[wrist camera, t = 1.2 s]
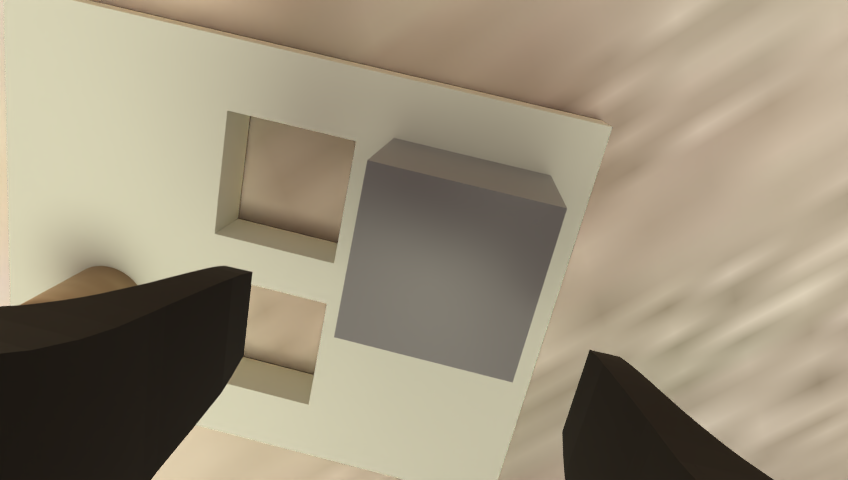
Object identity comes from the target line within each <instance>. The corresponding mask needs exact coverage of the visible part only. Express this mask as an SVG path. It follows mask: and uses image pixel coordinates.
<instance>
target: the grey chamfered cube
mask: <svg viewBox="0 0 848 480" xmlns="http://www.w3.org/2000/svg"><path fill="white" fill-rule="evenodd" d="M566 211H567V207H566V205H565V203H564V201H563V199H562V197H561V195H560V193H559V191H558V189H557V187H556V185H555V183H554V181H553V179H552V177H551V175H547V174H543V173H539V172H535V171H530V170H526V169H522V168H518V167H514V166H509V165H505V164H501V163H497V162H493V161H489V160H484V159H480V158H476V157H472V156H468V155H463V154H459V153H455V152H451V151H447V150H443V149H438V148H434V147H430V146H426V145H422V144H417V143H413V142H409V141H405V140H401V139H397V138H393V139H392V140H391V141H390V142H388V143H387V144H386V145H385V146H384V147H382V148H381V149H380V150H379V151H378V152H376V153H375V154H374V155H373V156H372V157H370V158H369V159H368V160H367V164H366V170H365V175H364V180H363V185H362V191H361V196H360V201H359V207H358V212H357V217H356V223H355V228H354V233H353V239H352V244H351V249H350V255H349V260H348V265H347V270H346V276H345V281H344V286H343V292H342V297H341V302H340V308H339V313H338V318H337V324H336V329H335V334H334V337H335V338H339V339H343V340H347V341H351V342H355V343H359V344H363V345H367V346H371V347H375V348H379V349H382V350H386V351H390V352H394V353H398V354H402V355H406V356H410V357H414V358H418V359H422V360H426V361H430V362H434V363H438V364H442V365H446V366H449V367H453V368H457V369H461V370H465V371H469V372H473V373H477V374H481V375H485V376H489V377H493V378H497V379H501V380H505V381H509V382H512V383H513V380H514V377H515V373H516V370H517V367H518V364H519V361H520V357H521V354H522V351H523V348H524V345H525V341H526V338H527V335H528V332H529V329H530V326H531V322H532V319H533V316H534V313H535V310H536V306H537V303H538V300H539V297H540V294H541V290H542V287H543V284H544V281H545V278H546V275H547V271H548V268H549V265H550V262H551V259H552V255H553V252H554V249H555V246H556V243H557V239H558V236H559V233H560V230H561V227H562V223H563V220H564V217H565V214H566Z"/></svg>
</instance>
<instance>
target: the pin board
mask: <svg viewBox="0 0 848 480" xmlns="http://www.w3.org/2000/svg"><path fill="white" fill-rule="evenodd" d="M3 4H4V50H5V96H6V142H7V188H8V234H9V280H10V306H15V305H21V304H22V303H24V302H26V301H28V300H30V299H32V298H33V297H35V296H37V295H39V294H41V293H43V292H44V291H46V290H48V289H50V288H52V287H54V286H56V285H57V284H59V283H61V282H63V281H65V280H67V279H68V278H70V277H72V276H74V275H76V274H78V273H80V272H81V271H83V270H85V269H87V268H90V267H94V266H107V267H111V268H115V269H117V270H119V271H121V272H123V273H125V274H126V275H127V276H129V277H130V278H131V279H132V280H133V281H134V282H135V283H136V284H137V285H141V284H146V283H150V282H154V281H157V280H161V279H165V278H169V277H173V276H177V275H181V274H185V273H189V272H193V271H197V270H201V269H206V268H210V267H216V266H229V267H233V268H238V269H242V270H246V271H251V272H252V281H251V285H254V286H258V287H262V288H266V289H270V290H274V291H278V292H282V293H286V294H290V295H294V296H298V297H302V298H306V299H310V300H314V301H318V302H322V303H326V304H327V305H326V311H325V316H324V322H323V328H322V333H321V339H320V344H319V350H318V355H317V361H316V367H315V372H314V375H312V374H308V373H304V372H301V371H297V370H293V369H289V368H285V367H281V366H277V365H273V364H269V363H266V362H262V361H258V360H254V359H250V358H246V357H243V358H242V359H241V361H240V363H239V365H238V366H237V368H236V370H235V372H234V373H233V375H232V377H231V378H230V380H229V382H228V383H227V385H226V386H225V388H224V390H223V391H222V393H221V394H220V395H219V397H218V398H217V399H216V400H215V402H214V403H213V404H212V405H211V407H210V408H209V409H208V410H207V412H206V413H205V414H204V415H203V416H202V418H201V419H200V420H199V421H198V423H197V424H196V425H197V426H200V427H204V428H208V429H212V430H216V431H219V432H223V433H227V434H231V435H235V436H239V437H242V438H246V439H250V440H254V441H258V442H261V443H265V444H269V445H273V446H277V447H280V448H284V449H288V450H292V451H296V452H300V453H303V454H307V455H311V456H315V457H319V458H322V459H326V460H330V461H334V462H338V463H341V464H345V465H349V466H353V467H357V468H361V469H364V470H368V471H372V472H376V473H380V474H383V475H387V476H391V477H395V478H399V479H402V480H498V478H499V475H500V472H501V469H502V466H503V463H504V460H505V457H506V454H507V451H508V448H509V445H510V441H511V438H512V435H513V432H514V429H515V426H516V423H517V420H518V417H519V414H520V411H521V408H522V405H523V401H524V398H525V395H526V392H527V389H528V386H529V383H530V380H531V377H532V374H533V371H534V368H535V365H536V361H537V358H538V355H539V352H540V349H541V346H542V343H543V340H544V337H545V334H546V331H547V328H548V325H549V321H550V318H551V315H552V312H553V309H554V306H555V303H556V300H557V297H558V294H559V291H560V288H561V284H562V281H563V278H564V275H565V272H566V269H567V266H568V263H569V260H570V257H571V254H572V251H573V248H574V244H575V241H576V238H577V235H578V232H579V229H580V226H581V223H582V220H583V217H584V214H585V211H586V208H587V204H588V201H589V198H590V195H591V192H592V189H593V186H594V183H595V180H596V177H597V174H598V171H599V168H600V164H601V161H602V158H603V155H604V152H605V149H606V146H607V143H608V140H609V137H610V134H611V131H612V128H613V127H612V126H610V125H608V124H606V123H605V122H603V121H601V120H598V119H593V118H589V117H585V116H581V115H576V114H572V113H568V112H564V111H559V110H555V109H551V108H547V107H542V106H538V105H534V104H530V103H525V102H521V101H517V100H512V99H508V98H504V97H500V96H495V95H491V94H487V93H483V92H478V91H474V90H470V89H466V88H461V87H457V86H453V85H449V84H444V83H440V82H436V81H432V80H427V79H423V78H419V77H414V76H410V75H406V74H402V73H397V72H393V71H389V70H385V69H380V68H376V67H372V66H368V65H363V64H359V63H355V62H351V61H346V60H342V59H338V58H334V57H329V56H325V55H321V54H316V53H312V52H308V51H304V50H299V49H295V48H291V47H287V46H282V45H278V44H274V43H270V42H265V41H261V40H257V39H253V38H248V37H244V36H240V35H235V34H231V33H227V32H223V31H218V30H214V29H210V28H206V27H201V26H197V25H193V24H189V23H184V22H180V21H176V20H172V19H167V18H163V17H159V16H155V15H150V14H146V13H142V12H137V11H133V10H129V9H125V8H120V7H116V6H112V5H108V4H103V3H99V2H95V1H91V0H3ZM250 116H252V117H257V118H261V119H265V120H269V121H273V122H277V123H282V124H286V125H290V126H294V127H298V128H302V129H307V130H311V131H315V132H319V133H323V134H327V135H332V136H336V137H340V138H344V139H348V140H352V141H356V144H355V149H354V155H353V161H352V166H351V172H350V177H349V183H348V188H347V194H346V200H345V205H344V211H343V216H342V222H341V227H340V233H339V239H338V243H335V242H331V241H327V240H322V239H318V238H314V237H310V236H306V235H302V234H298V233H294V232H290V231H286V230H282V229H278V228H274V227H270V226H266V225H262V224H258V223H254V222H250V221H246V220H242V219H238V215H239V207H240V198H241V190H242V181H243V173H244V164H245V156H246V147H247V138H248V130H249V121H250ZM393 138H397V139H401V140H405V141H409V142H413V143H417V144H422V145H426V146H430V147H434V148H438V149H443V150H447V151H451V152H455V153H459V154H463V155H468V156H472V157H476V158H480V159H484V160H489V161H493V162H497V163H501V164H505V165H509V166H514V167H518V168H522V169H526V170H530V171H535V172H539V173H543V174H547V175H551V177H552V179H553V181H554V183H555V185H556V187H557V189H558V191H559V193H560V195H561V197H562V199H563V201H564V203H565V205H566V207H567V211H566V214H565V217H564V220H563V223H562V227H561V230H560V233H559V236H558V239H557V243H556V246H555V249H554V252H553V255H552V259H551V262H550V265H549V268H548V271H547V275H546V278H545V281H544V284H543V287H542V290H541V294H540V297H539V300H538V303H537V306H536V310H535V313H534V316H533V319H532V322H531V326H530V329H529V332H528V335H527V338H526V341H525V345H524V348H523V351H522V354H521V357H520V361H519V364H518V367H517V370H516V373H515V377H514V380H513V383H512V382H509V381H505V380H501V379H497V378H493V377H489V376H485V375H481V374H477V373H473V372H469V371H465V370H461V369H457V368H453V367H449V366H446V365H442V364H438V363H434V362H430V361H426V360H422V359H418V358H414V357H410V356H406V355H402V354H398V353H394V352H390V351H386V350H382V349H379V348H375V347H371V346H367V345H363V344H359V343H355V342H351V341H347V340H343V339H339V338H335V337H334V334H335V329H336V324H337V318H338V313H339V308H340V302H341V297H342V292H343V286H344V281H345V276H346V270H347V265H348V260H349V255H350V249H351V244H352V239H353V233H354V228H355V223H356V217H357V212H358V207H359V201H360V196H361V191H362V185H363V180H364V175H365V170H366V164H367V160H368V159H369V158H370V157H372V156H373V155H374V154H375V153H376V152H378V151H379V150H380V149H381V148H382V147H384V146H385V145H386V144H387V143H388V142H390V141H391V140H392V139H393Z"/></svg>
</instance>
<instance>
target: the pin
mask: <svg viewBox="0 0 848 480" xmlns="http://www.w3.org/2000/svg"><path fill="white" fill-rule="evenodd" d="M132 286H137V284H136V283H135V282H134V281H133V280H132V279H131V278H130V277H129V276H127V275H126V274H125V273H123V272H121V271H119V270H117V269H115V268H111V267H107V266H94V267H90V268H87V269H85V270H83V271H81V272H80V273H78V274H76V275H74V276H72V277H70V278H68V279H67V280H65V281H63V282H61V283H59V284H57V285H56V286H54V287H52V288H50V289H48V290H46V291H44V292H43V293H41V294H39V295H37V296H35V297H33V298H32V299H30V300H28V301H26V302H24V303H22V304H21V305H28V304H37V303H45V302H52V301H59V300H67V299H73V298H79V297H85V296H90V295H96V294H101V293H105V292H110V291H114V290H119V289H123V288H128V287H132Z"/></svg>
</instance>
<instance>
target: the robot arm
mask: <svg viewBox="0 0 848 480" xmlns="http://www.w3.org/2000/svg"><path fill="white" fill-rule="evenodd" d="M251 281H252V272H251V271H246V270H242V269H238V268H233V267H229V266H216V267H210V268H206V269H201V270H197V271H193V272H189V273H185V274H181V275H177V276H173V277H169V278H165V279H161V280H157V281H154V282H150V283H146V284H141V285H137V286H132V287H128V288H123V289H119V290H114V291H110V292H105V293H101V294H96V295H90V296H85V297H79V298H73V299H67V300H59V301H52V302H45V303H37V304H28V305H15V306H2V307H0V480H151V479H152V478H153V476H154V475H155V474H156V472H157V471H158V470H159V469H160V467H161V466H162V465H163V464H164V463H165V461H166V460H167V459H168V458H169V457H170V455H171V454H172V453H173V452H174V450H175V449H176V448H177V447H178V446H179V444H180V443H181V442H182V441H183V440H184V438H185V437H186V436H187V435H188V433H189V432H190V431H191V430H192V429H193V427H194V426H195V425H196V424H197V423H198V421H199V420H200V419H201V418H202V416H203V415H204V414H205V413H206V412H207V410H208V409H209V408H210V407H211V405H212V404H213V403H214V402H215V400H216V399H217V398H218V397H219V395H220V394H221V393H222V391H223V390H224V388H225V386H226V385H227V383H228V382H229V380H230V378H231V377H232V375H233V373H234V372H235V370H236V368H237V366H238V365H239V363H240V361H241V359H242V358H243V355H244V346H245V337H246V328H247V318H248V309H249V300H250V291H251ZM562 434H563V458H564V473H565V480H773V479H772V478H770V477H769V476H767V475H766V474H764V473H763V472H762V471H760V470H759V469H757V468H756V467H754V466H753V465H751V464H750V463H748V462H747V461H746V460H744V459H743V458H741V457H740V456H739V455H737V454H736V453H735V452H733V451H732V450H730V449H729V448H728V447H727V446H725V445H724V444H723V443H722V442H720V441H719V440H718V439H716V438H715V437H714V436H713V435H711V434H710V433H709V432H708V431H706V430H705V429H704V428H703V427H701V426H700V425H699V424H698V423H697V422H695V421H694V420H693V419H692V418H691V417H690V416H688V415H687V414H686V413H685V412H684V411H683V410H681V409H680V408H679V407H678V406H677V405H676V404H675V403H673V402H672V401H671V400H670V399H669V398H668V397H667V396H665V395H664V394H663V393H662V392H661V391H660V390H659V389H658V388H657V387H655V386H654V385H653V384H652V383H651V382H650V381H649V380H648V379H646V378H645V377H644V376H643V375H642V374H641V373H640V372H638V371H637V370H636V369H635V368H634V367H633V366H631V365H630V364H629V363H628V362H626V361H625V360H623V359H622V358H620V357H618V356H613V355H609V354H605V353H600V352H596V351H592V350H590V351H589V354H588V357H587V360H586V363H585V366H584V369H583V372H582V375H581V378H580V381H579V384H578V387H577V390H576V393H575V396H574V399H573V402H572V405H571V408H570V411H569V414H568V417H567V420H566V423H565V426H564V429H563V432H562Z"/></svg>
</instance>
